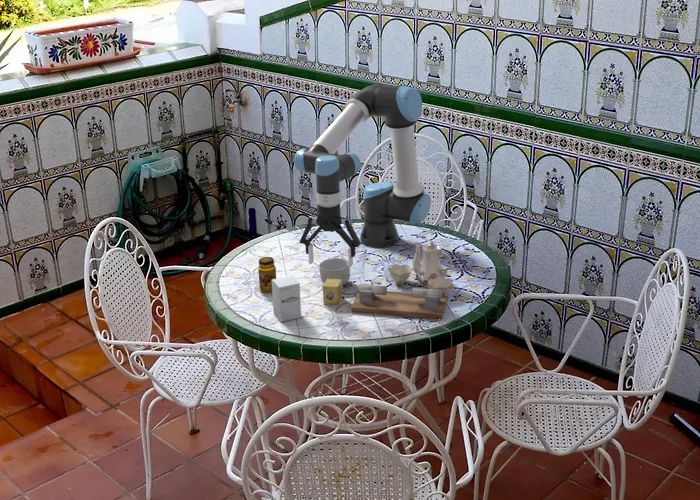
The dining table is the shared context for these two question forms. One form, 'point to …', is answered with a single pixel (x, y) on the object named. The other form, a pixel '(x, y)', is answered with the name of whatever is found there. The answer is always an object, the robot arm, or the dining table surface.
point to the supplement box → (286, 298)
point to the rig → (399, 302)
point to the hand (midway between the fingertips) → (330, 264)
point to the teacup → (335, 269)
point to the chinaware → (425, 269)
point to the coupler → (332, 292)
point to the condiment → (266, 275)
